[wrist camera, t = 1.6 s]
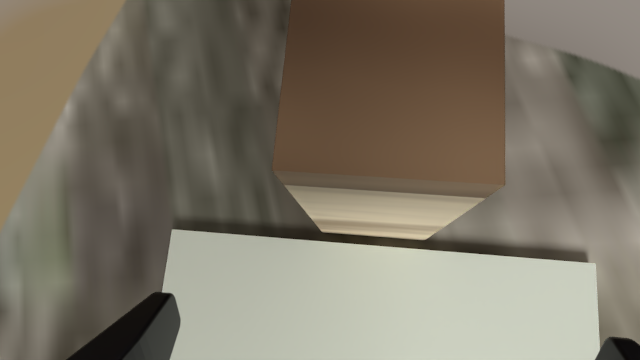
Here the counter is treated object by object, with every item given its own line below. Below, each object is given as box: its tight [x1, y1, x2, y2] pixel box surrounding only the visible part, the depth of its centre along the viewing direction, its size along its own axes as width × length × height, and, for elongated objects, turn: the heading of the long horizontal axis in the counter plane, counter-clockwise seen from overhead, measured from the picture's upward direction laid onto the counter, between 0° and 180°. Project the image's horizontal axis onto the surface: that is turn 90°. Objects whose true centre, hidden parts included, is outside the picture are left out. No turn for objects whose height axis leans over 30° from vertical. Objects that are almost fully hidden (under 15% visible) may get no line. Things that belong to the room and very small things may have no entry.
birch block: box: [272, 0, 505, 240], centre depth 16 cm, size 6×5×12 cm
